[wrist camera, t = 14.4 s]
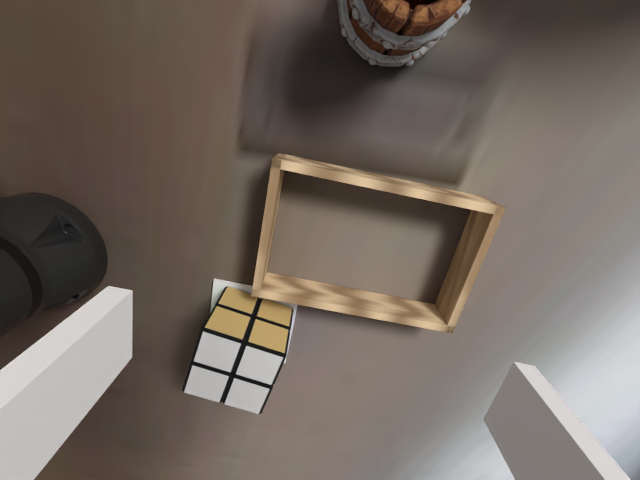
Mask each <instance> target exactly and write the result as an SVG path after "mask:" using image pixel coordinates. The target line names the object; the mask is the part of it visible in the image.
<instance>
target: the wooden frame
mask: <svg viewBox="0 0 640 480" xmlns="http://www.w3.org/2000/svg"><path fill="white" fill-rule="evenodd" d="M284 170H286V171H291V172H296V173H300V174H305V175H310V176H315V177H319V178H324V179H329V180H333V181H338V182H343V183H348V184H352V185H357V186H362V187H367V188H371V189H376V190H381V191H386V192H390V193H395V194H400V195H404V196H409V197H414V198H419V199H423V200H428V201H433V202H438V203H442V204H447V205H452V206H457V207H461V208H466V209H471V212H470V215H469V218H468V220H467V223H466V225H465V228H464V230H463V233H462V236H461V238H460V241H459V243H458V246H457V248H456V251H455V254H454V256H453V259H452V261H451V264H450V267H449V269H448V272H447V274H446V277H445V279H444V282H443V285H442V287H441V290H440V292H439V295H438V297H437V300H436V303H435V304H431V303H426V302H420V301H415V300H410V299H405V298H399V297H394V296H389V295H384V294H378V293H373V292H368V291H363V290H357V289H352V288H347V287H342V286H336V285H331V284H326V283H321V282H316V281H310V280H305V279H300V278H295V277H289V276H284V275H279V274H274V273H268V272H267V271H268V265H269V259H270V253H271V247H272V241H273V235H274V229H275V223H276V217H277V211H278V205H279V199H280V193H281V187H282V181H283V175H284ZM505 208H506V207H504V206H502V205H500V204H498V203H496V202H494V201H491V200H489V199H487V198H485V197H482V196H477V195H472V194H468V193H463V192H458V191H454V190H449V189H444V188H440V187H435V186H430V185H426V184H421V183H416V182H412V181H407V180H402V179H398V178H393V177H388V176H384V175H379V174H374V173H370V172H365V171H360V170H356V169H351V168H346V167H342V166H337V165H332V164H328V163H323V162H318V161H314V160H309V159H304V158H300V157H295V156H290V155H286V154H281V153H278V154H277V155H275V156H274V157H273V158H272V164H271V170H270V177H269V184H268V190H267V197H266V203H265V210H264V216H263V223H262V230H261V236H260V243H259V249H258V256H257V262H256V269H255V276H254V282H253V289H252V295H251V296H254V297H259V298H265V299H270V300H276V301H281V302H286V303H292V304H297V305H302V306H308V307H313V308H319V309H324V310H329V311H335V312H340V313H346V314H351V315H356V316H362V317H367V318H373V319H378V320H383V321H389V322H394V323H399V324H405V325H410V326H416V327H421V328H426V329H432V330H437V331H443V332H448V333H453V330H454V328H455V326H456V323H457V321H458V319H459V316H460V314H461V312H462V309H463V307H464V305H465V302H466V300H467V297H468V295H469V293H470V290H471V288H472V286H473V283H474V281H475V279H476V276H477V274H478V272H479V269H480V267H481V265H482V262H483V260H484V258H485V255H486V253H487V251H488V248H489V246H490V243H491V241H492V239H493V236H494V234H495V232H496V229H497V227H498V225H499V222H500V220H501V218H502V215H503V213H504V211H505Z"/></svg>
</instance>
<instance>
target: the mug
mask: <svg viewBox="0 0 640 480" xmlns="http://www.w3.org/2000/svg"><path fill="white" fill-rule="evenodd" d="M471 1H472V0H338V1H337V2H338V11H339V19H340V25H341V27H342V31H341V33H342V35H343V36H344V37H346V38H347V41H348V43H349V45H350V46H351V47H352V48H353V49H354V50H355V51H356V52H357V53H358V54H359V55H360V56H361V57H362V58H363V59H365V60H368V61H369V63H370V64H371V65H375V64H377V65H379V66H402V65H405V64H406V65H408V66H411V65H413V63H414V61H415V60H418V59H419V58H421V57H422V56H423V55H424V54H425V53H426V52H428V51H429V50H430V49H431V48H432V47H434V46H435V45H436V44H437V43H438V41H439V40H440V39H444V38H445V37H446V35H447V31H448V30H449V29H451V28H452V27H453V26H454V25H455V24H456V23H457V22H458V21H459V19H460V18H461V16H465V15H467V14H468V12H469V10H470V6H469V4H470V2H471Z"/></svg>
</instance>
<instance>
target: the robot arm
mask: <svg viewBox="0 0 640 480" xmlns="http://www.w3.org/2000/svg"><path fill="white" fill-rule="evenodd" d="M106 268H107V253H106V248H105V245H104V242H103V240H102V237H101V235H100V234H99V232H98V230H97V229H96V227H95V226H94V225H93V223H92V222H91V221H90V220H89V219H88V218H87V217H86V216H85V215H84V214H83V213H82V212H81V211H79V210H78V209H77V208H75V207H74V206H72V205H71V204H69V203H67V202H65V201H63V200H61V199H59V198H56V197H54V196H50V195H47V194H41V193H22V194H18V195H14V196H10V197H6V198H2V199H0V337H1V336H3V335H4V334H5V333H7V332H8V331H10V330H11V329H13V328H14V327H15V326H17V325H18V324H20V323H21V322H22V321H24V320H25V319H27V318H28V317H30V316H32V315H33V314H36V313H40V312H43V311H46V310H49V309H53V308H56V307H59V306H63V305H66V304H69V303H72V302H75V301H77V300H79V299H80V298H82V297H84V296H85V295H86V294H88V293H89V292H90V291H92V290H93V289H94V288H96V287H97V286H98V285H99V283H100V282H101V281H102V279H103V277H104V275H105V272H106ZM132 295H133V290H127V289H122V288H117V287H111V286H108V287H107V288H105V289H104V290H103V291H101V292H100V293H99V294H98V295H96V296H95V297H94V298H92V299H91V300H90V301H89V302H87V303H86V304H85V305H83V306H82V307H81V308H80V309H78V310H77V311H76V312H74V313H73V314H72V315H71V316H69V317H68V318H67V319H65V320H64V321H63V322H62V323H60V324H59V325H58V326H56V327H55V328H54V329H53V330H51V331H50V332H49V333H47V334H46V335H45V336H44V337H42V338H41V339H40V340H38V341H37V342H36V343H35V344H33V345H32V346H31V347H29V348H28V349H27V350H26V351H24V352H23V353H22V354H20V355H19V356H18V357H17V358H15V359H14V360H13V361H11V362H10V363H9V364H8V365H6V366H5V367H4V368H2V369H1V370H0V480H34V479H35V478H36V476H37V475H38V474H39V473H40V471H41V470H42V469H43V468H44V466H45V465H46V464H47V463H48V461H49V460H50V459H51V458H52V456H53V455H54V454H55V453H56V451H57V450H58V449H59V448H60V447H61V445H62V444H63V443H64V442H65V440H66V439H67V438H68V437H69V435H70V434H71V433H72V432H73V430H74V429H75V428H76V427H77V425H78V424H79V423H80V422H81V420H82V419H83V418H84V417H85V415H86V414H87V413H88V412H89V410H90V409H91V408H92V407H93V405H94V404H95V403H96V402H97V400H98V399H99V398H100V397H101V395H102V394H103V393H104V392H105V391H106V389H107V388H108V387H109V386H110V384H111V383H112V382H113V381H114V379H115V378H116V377H117V376H118V374H119V373H120V372H121V371H122V369H123V368H124V367H125V366H126V364H127V363H128V362H129V361H130V359H131V358H132ZM484 421H485V423H486V425H487V427H488V429H489V430H490V432H491V434H492V436H493V438H494V440H495V442H496V444H497V446H498V448H499V449H500V451H501V453H502V455H503V457H504V459H505V461H506V463H507V465H508V467H509V468H510V470H511V472H512V474H513V476H514V478H515V480H630V478H629V477H628V476H627V475H626V474H625V473H624V471H623V470H622V469H621V468H620V467H619V465H618V464H617V463H616V462H615V461H614V460H613V458H612V457H611V456H610V455H609V454H608V452H607V451H606V450H605V449H604V448H603V446H602V445H601V444H600V443H599V442H598V441H597V439H596V438H595V437H594V436H593V435H592V433H591V432H590V431H589V430H588V429H587V428H586V426H585V425H584V424H583V423H582V422H581V420H580V419H579V418H578V417H577V416H576V415H575V413H574V412H573V411H572V410H571V409H570V407H569V406H568V405H567V404H566V403H565V401H564V400H563V399H562V398H561V397H560V396H559V394H558V393H557V392H556V391H555V390H554V388H553V387H552V386H551V385H550V384H549V383H548V381H547V380H546V379H545V378H544V377H543V375H542V374H541V373H540V372H539V371H538V370H537V368H536V367H535V366H532V365H527V364H521V363H516V362H514V363H513V365H512V367H511V368H510V370H509V372H508V374H507V376H506V378H505V380H504V382H503V383H502V385H501V387H500V389H499V391H498V393H497V395H496V397H495V398H494V400H493V402H492V404H491V406H490V408H489V410H488V412H487V413H486V415H485V417H484Z"/></svg>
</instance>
